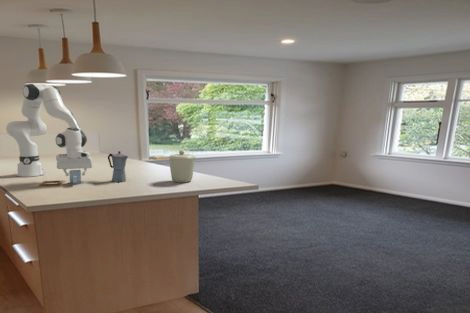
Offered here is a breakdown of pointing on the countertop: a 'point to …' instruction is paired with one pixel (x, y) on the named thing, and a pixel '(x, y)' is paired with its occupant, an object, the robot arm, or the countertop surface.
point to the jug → (75, 176)
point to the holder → (51, 183)
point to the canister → (181, 167)
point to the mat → (76, 184)
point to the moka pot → (118, 166)
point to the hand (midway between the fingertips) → (75, 175)
